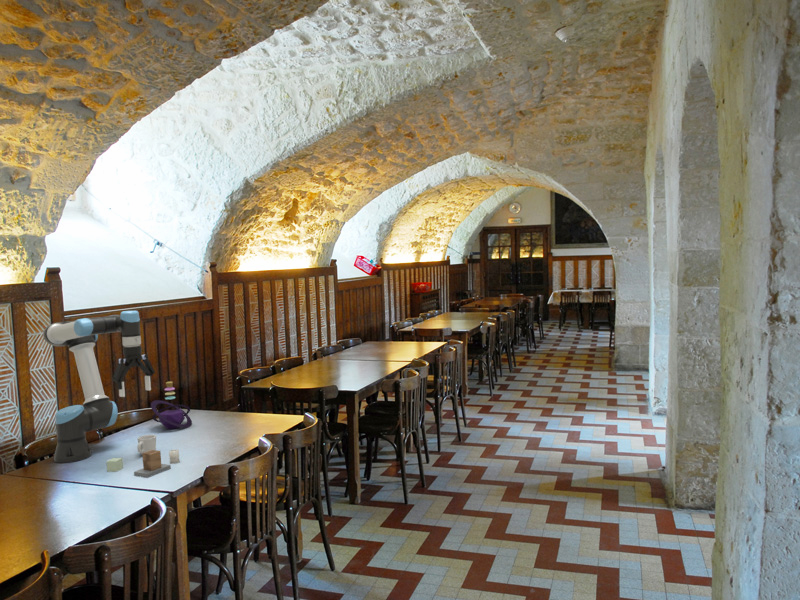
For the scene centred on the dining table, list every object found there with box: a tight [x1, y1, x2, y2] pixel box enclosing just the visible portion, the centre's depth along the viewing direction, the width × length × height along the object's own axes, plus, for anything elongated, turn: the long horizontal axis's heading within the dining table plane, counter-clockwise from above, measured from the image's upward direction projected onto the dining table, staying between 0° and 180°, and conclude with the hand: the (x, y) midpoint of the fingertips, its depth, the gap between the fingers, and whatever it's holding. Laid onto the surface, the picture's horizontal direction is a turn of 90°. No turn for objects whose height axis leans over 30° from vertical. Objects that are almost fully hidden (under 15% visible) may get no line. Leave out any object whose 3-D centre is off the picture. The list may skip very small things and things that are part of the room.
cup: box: [136, 434, 157, 455], centre depth 285 cm, size 11×8×8 cm
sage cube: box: [106, 457, 124, 473], centre depth 265 cm, size 4×4×4 cm
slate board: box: [133, 463, 172, 479], centre depth 260 cm, size 8×12×2 cm, turn 152°
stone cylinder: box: [168, 449, 180, 465], centre depth 272 cm, size 4×4×5 cm
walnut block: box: [141, 449, 162, 471], centre depth 260 cm, size 5×5×7 cm
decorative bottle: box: [150, 380, 193, 430], centre depth 331 cm, size 22×21×25 cm
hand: (135, 393), depth 273 cm, fingers open, 13 cm apart
